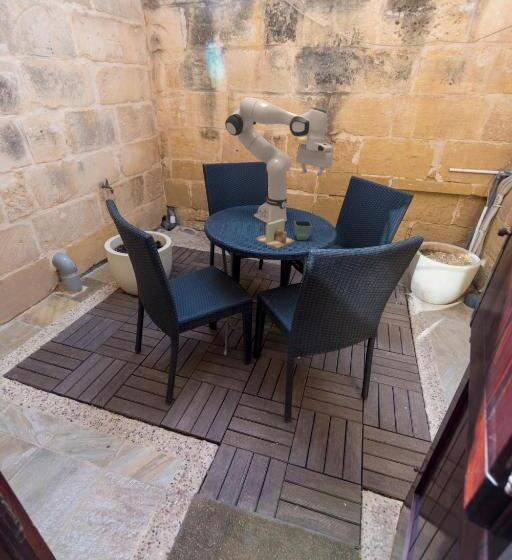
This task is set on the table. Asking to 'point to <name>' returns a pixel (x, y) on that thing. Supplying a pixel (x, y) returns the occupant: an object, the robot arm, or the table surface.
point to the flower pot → (302, 229)
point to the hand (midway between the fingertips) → (311, 174)
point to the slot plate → (274, 229)
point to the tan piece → (277, 239)
